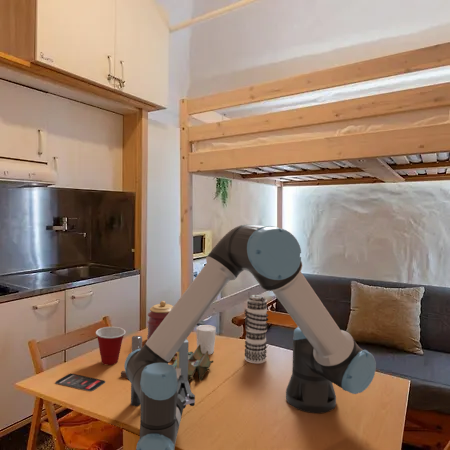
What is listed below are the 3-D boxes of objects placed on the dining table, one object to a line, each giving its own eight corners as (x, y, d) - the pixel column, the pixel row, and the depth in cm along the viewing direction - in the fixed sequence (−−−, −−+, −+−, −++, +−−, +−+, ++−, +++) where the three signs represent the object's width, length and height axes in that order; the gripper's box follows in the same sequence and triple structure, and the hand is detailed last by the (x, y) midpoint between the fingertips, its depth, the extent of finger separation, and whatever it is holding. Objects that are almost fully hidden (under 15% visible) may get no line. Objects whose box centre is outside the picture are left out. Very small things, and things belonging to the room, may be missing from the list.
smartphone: (91, 390, 117) (54, 382, 122) (91, 393, 117) (54, 384, 122) (106, 380, 124) (70, 373, 129) (106, 383, 124) (70, 375, 129)
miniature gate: (144, 344, 151) (217, 344, 146) (145, 357, 151) (218, 358, 146) (115, 372, 124) (203, 374, 120) (116, 389, 124) (204, 391, 120)
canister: (167, 333, 174) (167, 296, 173) (182, 341, 164) (183, 301, 163) (142, 339, 166) (142, 299, 165) (156, 347, 156) (157, 306, 155)
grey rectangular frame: (147, 404, 111) (148, 344, 110) (146, 400, 113) (147, 341, 112) (187, 400, 113) (188, 342, 113) (186, 396, 116) (187, 339, 115)
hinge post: (142, 401, 112) (143, 335, 112) (139, 406, 109) (140, 339, 109) (132, 400, 112) (133, 335, 112) (129, 406, 109) (130, 338, 109)
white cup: (194, 349, 155) (194, 325, 155) (212, 347, 158) (212, 324, 157) (198, 356, 148) (198, 331, 147) (217, 354, 150) (218, 330, 150)
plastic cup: (111, 370, 133) (111, 337, 132) (88, 364, 138) (89, 332, 137) (131, 360, 143) (131, 329, 142) (109, 354, 147) (110, 324, 147)
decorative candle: (238, 357, 148) (240, 295, 147) (257, 353, 153) (259, 292, 152) (253, 365, 140) (254, 299, 139) (271, 360, 145) (273, 297, 144)
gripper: (138, 430, 89) (156, 384, 112) (192, 431, 89) (199, 385, 112) (138, 399, 89) (157, 359, 112) (193, 401, 89) (200, 361, 112)
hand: (178, 372), depth 112 cm, fingers closed
